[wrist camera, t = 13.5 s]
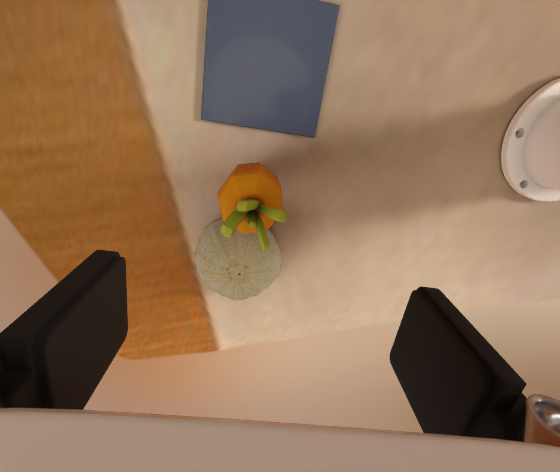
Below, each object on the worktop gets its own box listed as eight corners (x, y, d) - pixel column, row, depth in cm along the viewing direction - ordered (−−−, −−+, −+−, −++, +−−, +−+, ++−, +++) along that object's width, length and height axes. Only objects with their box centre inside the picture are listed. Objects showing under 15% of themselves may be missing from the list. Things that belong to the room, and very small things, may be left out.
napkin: (338, 6, 28) (339, 4, 27) (314, 137, 32) (314, 137, 31) (210, -21, 27) (209, -23, 26) (201, 119, 31) (200, 119, 30)
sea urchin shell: (279, 206, 32) (285, 284, 29) (278, 236, 40) (282, 301, 37) (187, 210, 32) (183, 290, 29) (203, 240, 39) (201, 306, 36)
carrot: (283, 157, 32) (301, 198, 19) (269, 203, 34) (277, 271, 20) (235, 143, 32) (217, 174, 18) (223, 191, 33) (199, 252, 19)
